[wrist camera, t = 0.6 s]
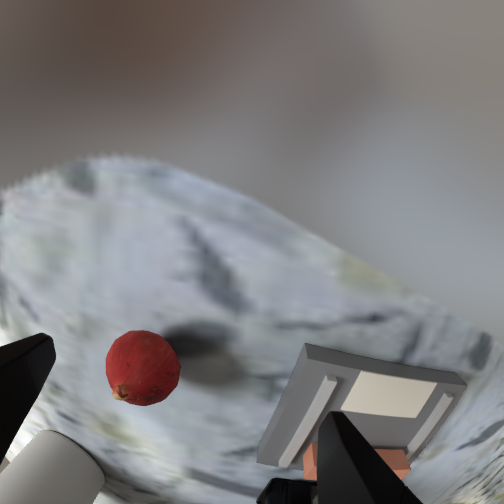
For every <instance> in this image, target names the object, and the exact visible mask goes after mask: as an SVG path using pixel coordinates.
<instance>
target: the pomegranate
mask: <svg viewBox="0 0 504 504" xmlns="http://www.w3.org/2000/svg"><path fill="white" fill-rule="evenodd" d="M180 368H181V366H180V364H179V361H178V358H177V355H176V353H175V351H174V350H173V348H172V347H171V346H170V344H169V343H168V342H167V341H166V340H165V339H163V338H162V337H161V336H159V335H158V334H155V333H152V332H149V331H144V330H141V331H129V332H128V333H126V334H124V335H122V336H121V337H119V338H118V339H116V340H115V341H114V343H113V345H112V346H111V348H110V350H109V352H108V354H107V357H106V375H107V378H108V381H109V384H110V387H111V388H112V394H113V397H114V398H115V399H117V400H124V401H126V402H128V403H130V404H134V405H140V406H147V405H151V404H155V403H158V402H161V401H163V400H164V399H166V398H167V397H168V396H169V394H170V393H171V392H172V391H173V390H174V389H175V388H176V386H177V385H178V381H179V375H180Z"/></svg>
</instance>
